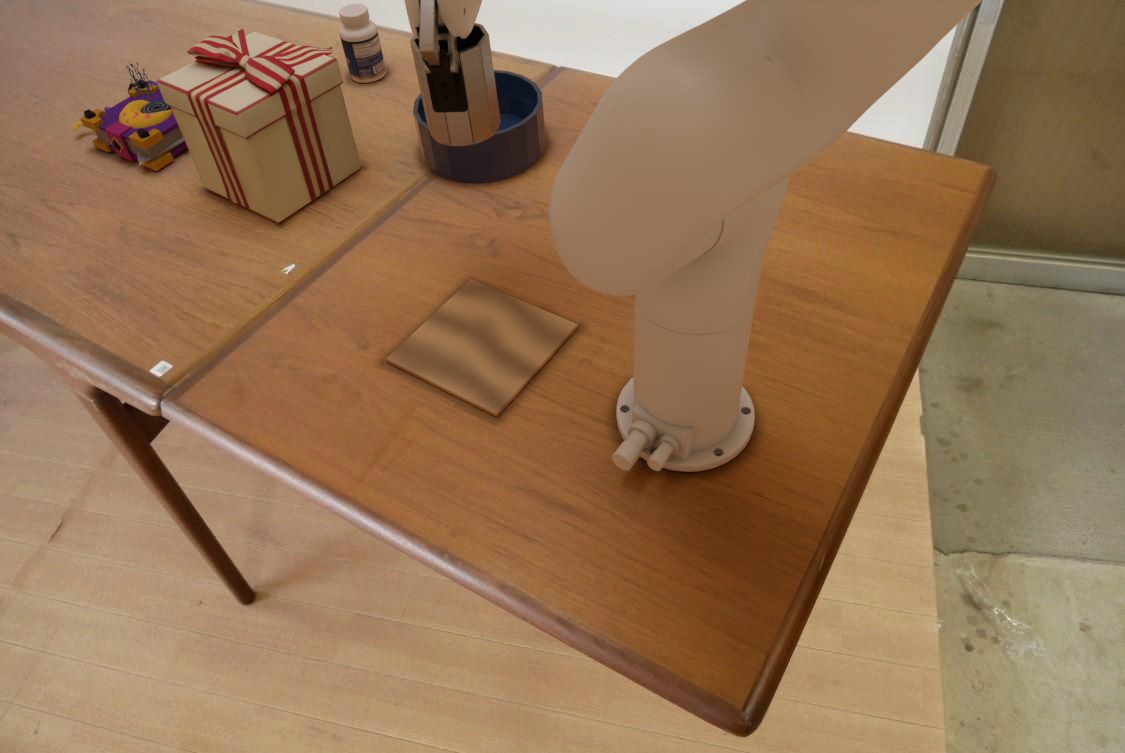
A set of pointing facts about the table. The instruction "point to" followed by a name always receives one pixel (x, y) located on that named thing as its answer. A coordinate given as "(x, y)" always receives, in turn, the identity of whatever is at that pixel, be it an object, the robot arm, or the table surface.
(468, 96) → the small pot
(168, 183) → the table surface
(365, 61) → the pill bottle
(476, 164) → the dark blue round tub
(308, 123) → the gift box
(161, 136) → the lego model
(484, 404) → the plate
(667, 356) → the robot arm
